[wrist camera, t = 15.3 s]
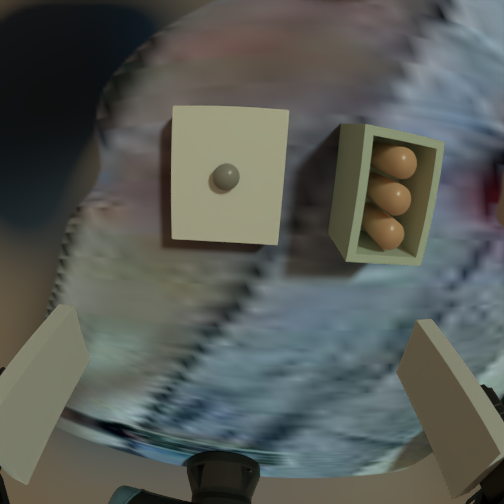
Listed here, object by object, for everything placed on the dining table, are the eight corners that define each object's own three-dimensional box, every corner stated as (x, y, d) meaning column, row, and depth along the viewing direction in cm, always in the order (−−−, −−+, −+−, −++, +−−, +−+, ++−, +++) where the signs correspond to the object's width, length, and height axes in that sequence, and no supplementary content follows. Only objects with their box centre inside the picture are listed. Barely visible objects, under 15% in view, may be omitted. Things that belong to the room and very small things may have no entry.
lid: (275, 233, 34) (278, 248, 30) (179, 227, 34) (170, 242, 30) (285, 111, 29) (290, 109, 25) (181, 107, 29) (170, 105, 25)
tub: (391, 238, 34) (420, 265, 27) (327, 233, 34) (345, 261, 27) (408, 136, 29) (444, 142, 22) (340, 123, 29) (365, 124, 22)
